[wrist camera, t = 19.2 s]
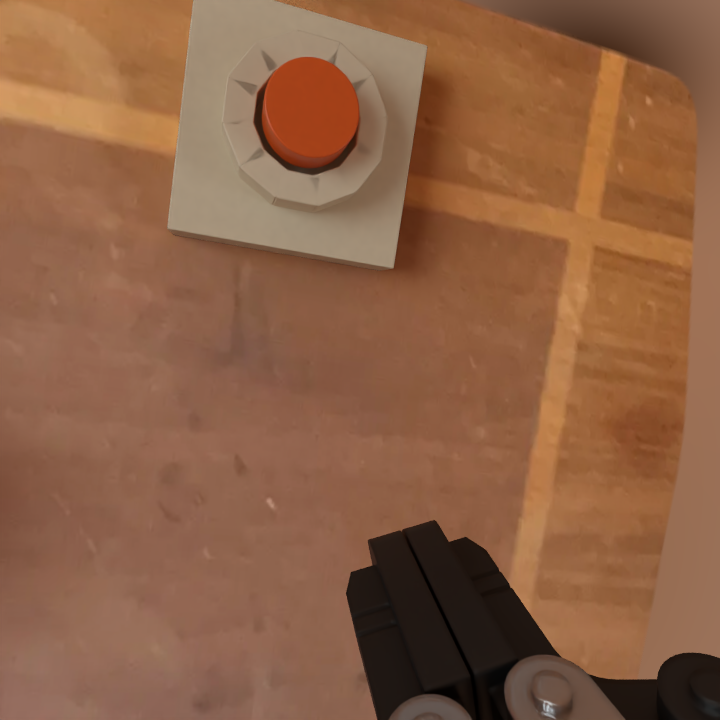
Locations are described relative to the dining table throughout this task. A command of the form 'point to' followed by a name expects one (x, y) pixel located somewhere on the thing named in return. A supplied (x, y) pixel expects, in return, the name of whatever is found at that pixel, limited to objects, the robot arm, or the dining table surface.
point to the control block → (263, 165)
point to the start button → (309, 112)
